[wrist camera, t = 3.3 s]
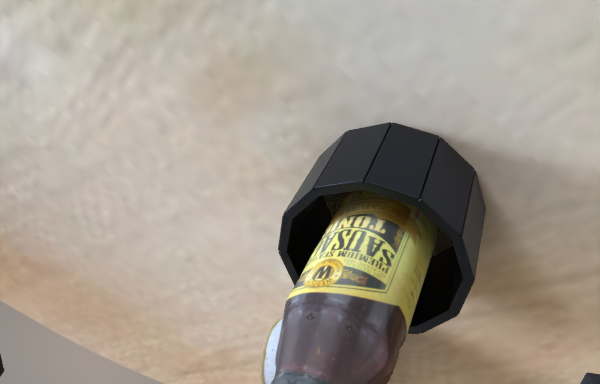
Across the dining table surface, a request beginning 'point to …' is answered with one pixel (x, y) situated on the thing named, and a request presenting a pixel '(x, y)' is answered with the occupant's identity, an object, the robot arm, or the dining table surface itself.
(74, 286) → the dining table surface
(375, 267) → the sauce bottle
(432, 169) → the cup
